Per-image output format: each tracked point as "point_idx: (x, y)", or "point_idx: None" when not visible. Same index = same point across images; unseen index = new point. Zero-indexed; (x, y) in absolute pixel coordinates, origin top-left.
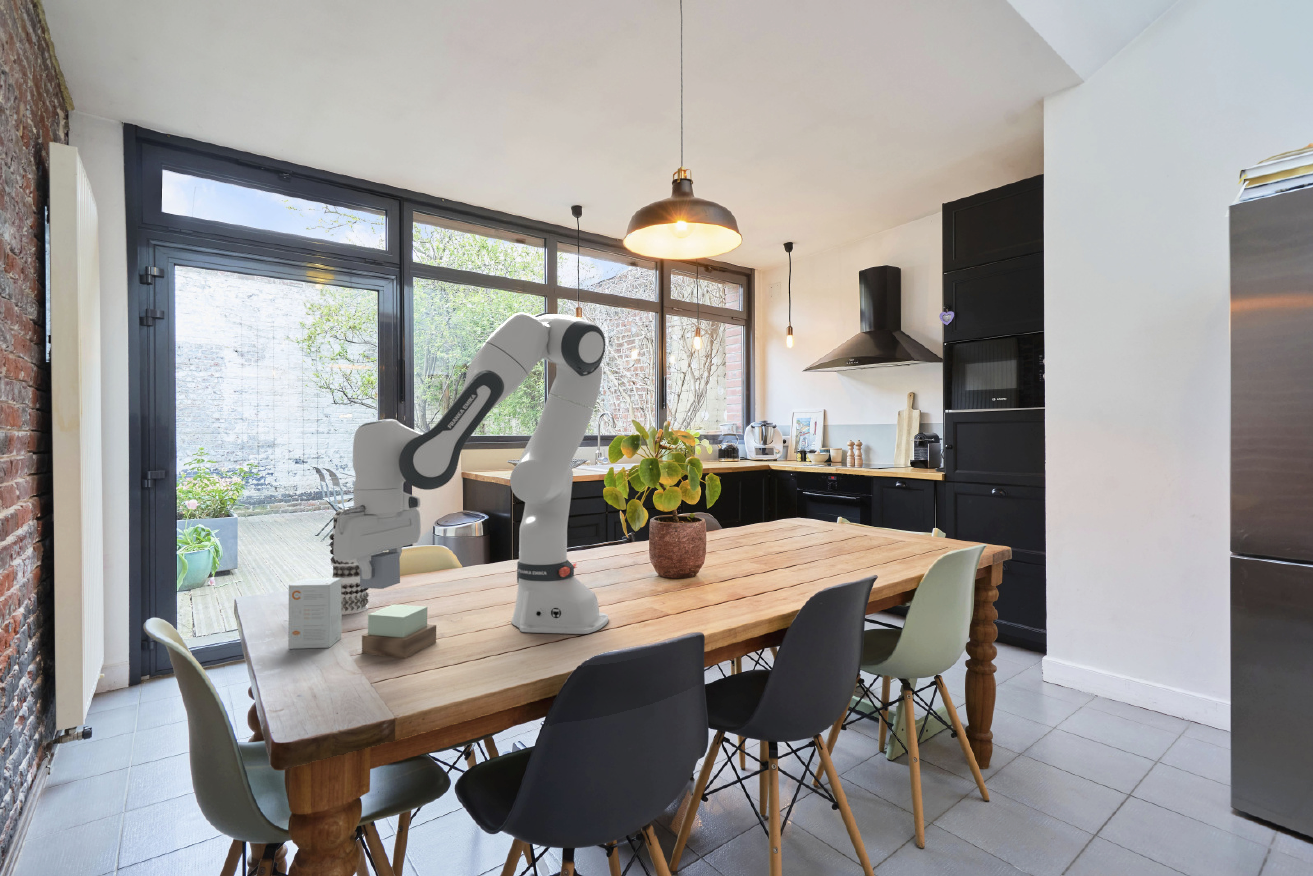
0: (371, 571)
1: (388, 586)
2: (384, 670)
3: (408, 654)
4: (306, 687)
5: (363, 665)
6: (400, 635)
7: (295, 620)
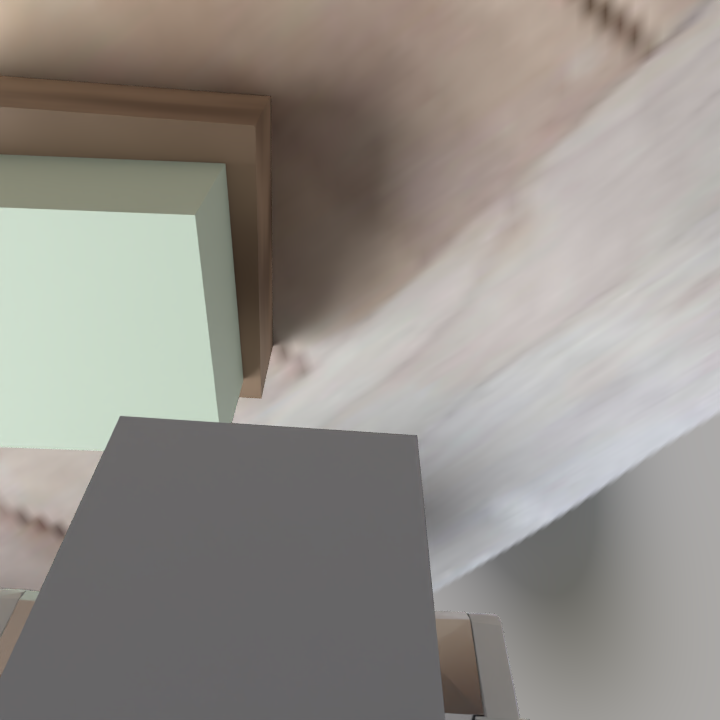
0: (481, 686)
1: (316, 432)
2: (463, 100)
3: (241, 97)
4: (684, 314)
5: (412, 248)
6: (226, 189)
7: None
